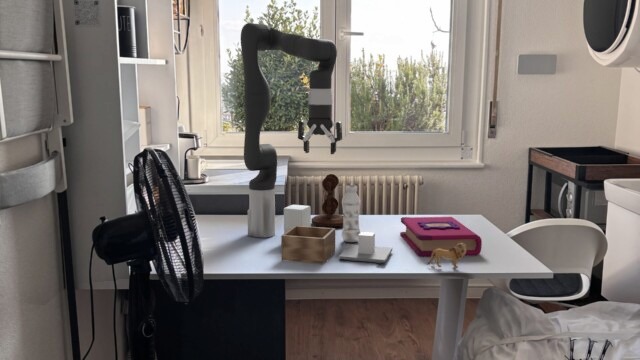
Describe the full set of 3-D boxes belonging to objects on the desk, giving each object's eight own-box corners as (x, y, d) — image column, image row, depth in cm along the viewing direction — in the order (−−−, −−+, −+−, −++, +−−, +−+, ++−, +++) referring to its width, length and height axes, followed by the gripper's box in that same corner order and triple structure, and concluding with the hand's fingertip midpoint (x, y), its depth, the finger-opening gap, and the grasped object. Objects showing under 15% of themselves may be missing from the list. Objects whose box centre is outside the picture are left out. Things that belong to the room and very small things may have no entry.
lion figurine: (464, 264, 189) (465, 241, 188) (467, 268, 185) (468, 245, 184) (425, 264, 189) (426, 241, 188) (428, 268, 185) (428, 244, 184)
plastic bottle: (359, 244, 211) (360, 188, 208) (339, 243, 213) (340, 187, 209) (361, 240, 217) (362, 184, 214) (343, 239, 219) (343, 184, 216)
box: (281, 260, 193) (281, 235, 191) (295, 248, 206) (294, 225, 205) (324, 263, 189) (324, 238, 188) (335, 251, 202) (335, 228, 201)
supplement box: (311, 240, 217) (311, 205, 215) (302, 245, 210) (302, 209, 208) (293, 238, 220) (292, 203, 218) (283, 243, 213) (283, 207, 211)
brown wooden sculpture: (314, 220, 248) (314, 172, 244) (350, 222, 246) (351, 173, 242) (308, 229, 233) (308, 177, 230) (347, 230, 231) (347, 178, 228)
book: (454, 234, 228) (455, 214, 226) (481, 255, 200) (482, 233, 199) (399, 235, 226) (399, 215, 224) (418, 257, 198) (419, 234, 197)
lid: (339, 261, 192) (339, 237, 191) (349, 249, 206) (349, 227, 205) (384, 265, 189) (385, 241, 187) (392, 253, 202) (392, 230, 201)
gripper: (295, 103, 193) (295, 153, 196) (338, 104, 189) (338, 155, 192) (302, 102, 200) (302, 151, 203) (344, 103, 196) (344, 153, 199)
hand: (319, 153), depth 197 cm, fingers open, 8 cm apart
